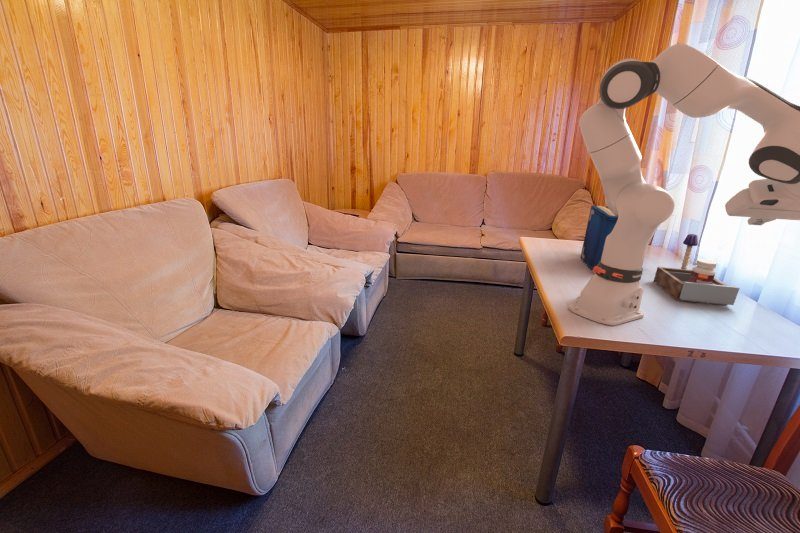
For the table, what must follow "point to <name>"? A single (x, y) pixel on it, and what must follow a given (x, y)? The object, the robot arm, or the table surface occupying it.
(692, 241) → the toy lamp
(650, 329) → the table surface
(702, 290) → the tray
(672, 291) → the walnut box
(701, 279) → the pill bottle
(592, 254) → the book
